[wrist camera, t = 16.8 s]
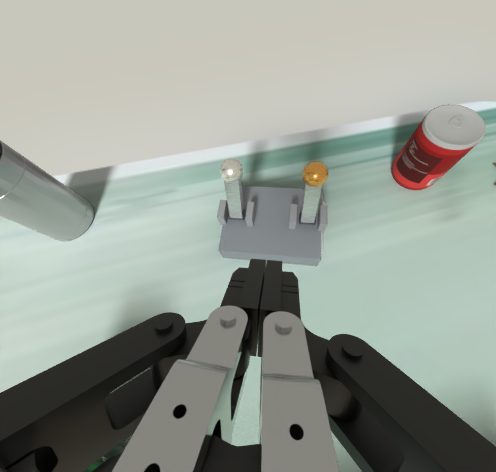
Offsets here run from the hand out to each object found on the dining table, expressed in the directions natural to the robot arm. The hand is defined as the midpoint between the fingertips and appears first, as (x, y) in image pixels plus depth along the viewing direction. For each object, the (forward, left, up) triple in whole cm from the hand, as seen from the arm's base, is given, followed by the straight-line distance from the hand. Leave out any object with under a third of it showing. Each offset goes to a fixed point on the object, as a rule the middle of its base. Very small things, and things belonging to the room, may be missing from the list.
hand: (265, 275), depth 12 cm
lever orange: (+4, +14, -22) cm, 27 cm away
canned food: (+23, +27, -27) cm, 45 cm away
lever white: (-7, +14, -22) cm, 27 cm away
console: (-1, +14, -27) cm, 31 cm away
